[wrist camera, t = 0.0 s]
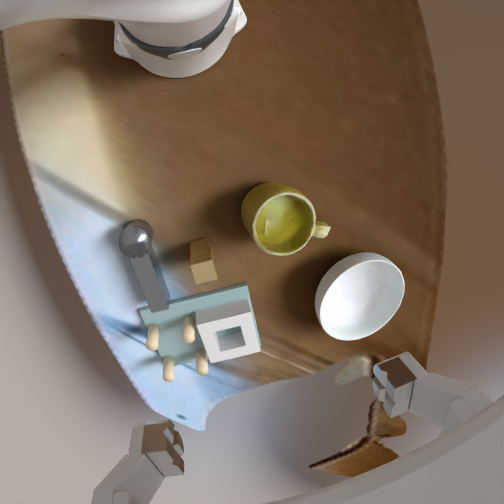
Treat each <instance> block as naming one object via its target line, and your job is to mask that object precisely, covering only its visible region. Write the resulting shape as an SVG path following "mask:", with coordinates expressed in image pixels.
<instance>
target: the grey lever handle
mask: <svg viewBox="0 0 504 504" xmlns="http://www.w3.org/2000/svg"><path fill="white" fill-rule="evenodd" d="M152 237H153V231H152V228H151V226H150V225H149V224H148V223H147V222H145V221H143V220H140V219H136V220H132V221H130V222H129V223H128V224H127V225H126V227H125V229H124V230H123V232H122V234H121V236H120V239H119V246H120V249H121V251H122V252H123V253H124V254H125V255H126V256H128V257H129V259H130V262H131V264H132V267H133V269H134V272H135V274H136V277H137V279H138V282H139V284H140V287H141V289H142V292H143V294H144V297H145V299H146V301H147V304H148V306H149V308H150V311H151V313H154V312H159V311H163V310H167V309H169V303H170V294H169V291H168V289H167V286H166V283H165V280H164V278H163V275H162V272H161V269H160V267H159V264H158V261H157V258H156V255H155V252H154V249H153V247H152V244H151V240H152Z"/></svg>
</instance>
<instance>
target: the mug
mask: <svg viewBox="0 0 504 504" xmlns="http://www.w3.org/2000/svg"><path fill="white" fill-rule="evenodd" d="M241 218H242V221H243V224H244V226H245V228H246V229H247V230H248V232H249V234H250V236H251V238H252V239H253V241H254V243H255V244H256V245H257V246H258V247H259V248H260V249H262V250H263V251H264V252H266V253H269V254H272V255H279V256H284V255H290V254H293V253H295V252H297V251H299V250H300V249H302V248H303V247H304V246H305V245H306V244H307V242H308V241H309V239H310V237H311V236H315V237H318V238H324V237H326V236H327V234H328V232H329V230H330V228H331V227H330V226H329V225H328V224H326V223H324V222H322V221H321V220H318V219H316V215H315V210H314V207H313V205H312V204H311V202H310V201H309V199H308V198H307V197H306V196H305V195H304V194H303V193H301V192H300V191H298V190H296V189H294V188H291V187H288V186H285V185H283V184H279V183H274V182H267V183H263V184H260V185H258V186H256V187H254V188H253V189H252V190H250V191H249V192H248V193H247V195H246V196H245V198H244V200H243V203H242V206H241Z"/></svg>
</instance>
